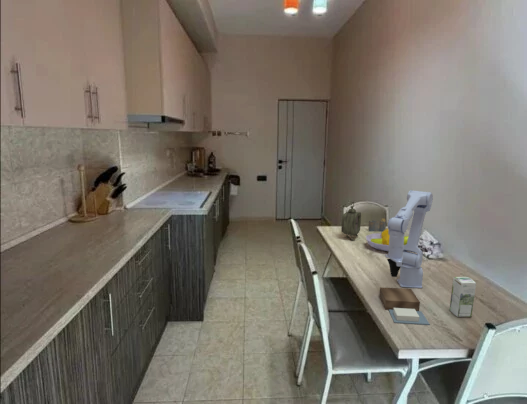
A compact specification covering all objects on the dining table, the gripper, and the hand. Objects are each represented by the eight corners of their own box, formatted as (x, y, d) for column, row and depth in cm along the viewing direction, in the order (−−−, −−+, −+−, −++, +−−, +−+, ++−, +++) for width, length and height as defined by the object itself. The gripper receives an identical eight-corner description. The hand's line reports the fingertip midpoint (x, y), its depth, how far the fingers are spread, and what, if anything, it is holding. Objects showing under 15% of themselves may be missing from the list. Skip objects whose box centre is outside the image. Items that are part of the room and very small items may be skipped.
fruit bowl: (356, 248, 216) (357, 230, 214) (380, 239, 234) (381, 222, 231) (399, 260, 195) (401, 240, 193) (421, 249, 213) (423, 231, 211)
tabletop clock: (354, 242, 227) (355, 204, 222) (340, 240, 232) (341, 203, 227) (359, 236, 240) (361, 200, 235) (346, 234, 244) (348, 199, 239)
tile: (419, 316, 131) (419, 321, 131) (414, 308, 136) (414, 313, 137) (397, 315, 132) (396, 320, 132) (393, 307, 138) (393, 312, 138)
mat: (421, 312, 139) (421, 311, 139) (429, 325, 129) (429, 324, 129) (388, 310, 140) (388, 309, 140) (394, 322, 131) (394, 321, 131)
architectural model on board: (384, 230, 255) (384, 217, 253) (385, 232, 252) (386, 218, 250) (368, 230, 255) (369, 217, 253) (369, 231, 252) (370, 218, 250)
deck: (410, 297, 151) (411, 288, 150) (419, 311, 139) (419, 302, 139) (379, 296, 153) (379, 287, 152) (385, 309, 141) (385, 300, 140)
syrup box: (463, 309, 140) (467, 275, 138) (472, 317, 135) (476, 282, 132) (449, 310, 140) (452, 276, 137) (457, 317, 134) (461, 282, 132)
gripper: (382, 240, 155) (380, 269, 158) (390, 251, 141) (387, 282, 143) (399, 240, 154) (397, 270, 157) (408, 251, 140) (405, 283, 143)
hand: (393, 276), depth 150 cm, fingers closed
